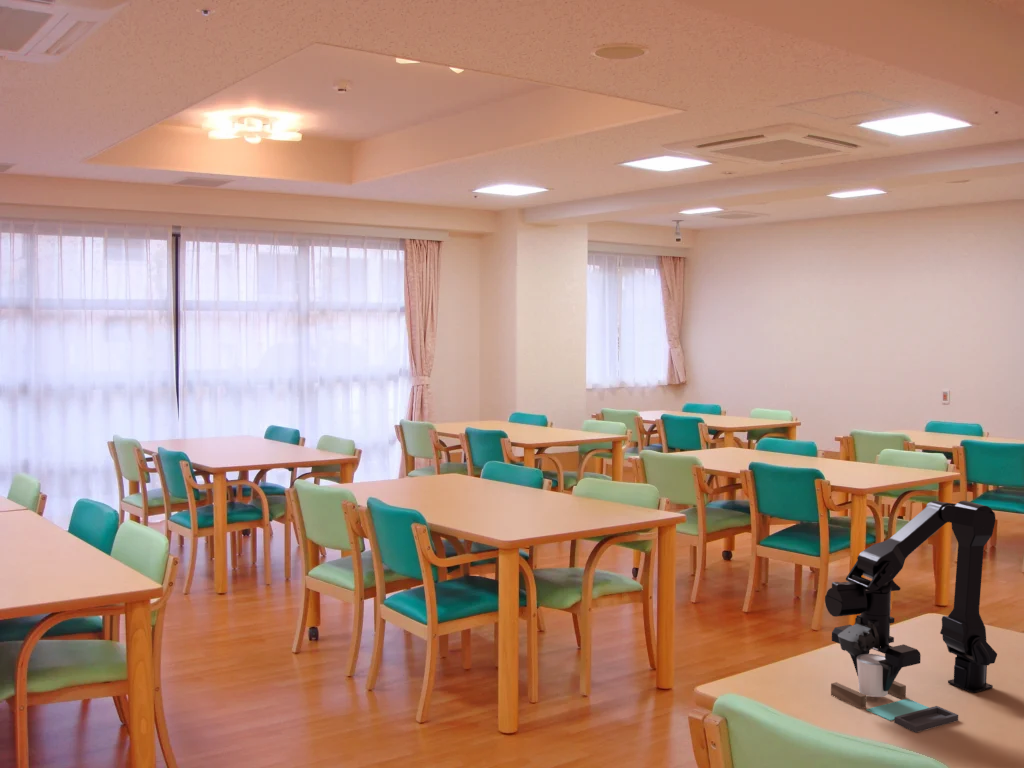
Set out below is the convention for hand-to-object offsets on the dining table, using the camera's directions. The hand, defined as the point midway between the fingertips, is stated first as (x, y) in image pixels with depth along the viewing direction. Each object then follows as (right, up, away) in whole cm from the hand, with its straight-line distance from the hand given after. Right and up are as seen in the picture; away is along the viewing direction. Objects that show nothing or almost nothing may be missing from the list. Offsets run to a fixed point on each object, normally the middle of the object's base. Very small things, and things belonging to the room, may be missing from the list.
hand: (873, 685), depth 203 cm
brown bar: (-1, -3, +1) cm, 3 cm away
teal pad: (+3, -3, -6) cm, 7 cm away
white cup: (0, -2, 0) cm, 2 cm away
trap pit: (+6, -4, -12) cm, 14 cm away
